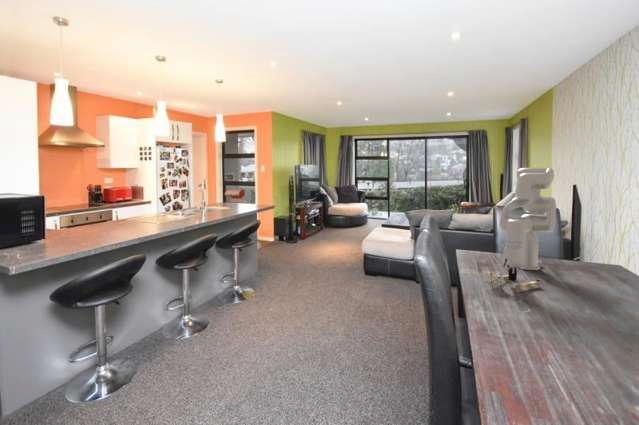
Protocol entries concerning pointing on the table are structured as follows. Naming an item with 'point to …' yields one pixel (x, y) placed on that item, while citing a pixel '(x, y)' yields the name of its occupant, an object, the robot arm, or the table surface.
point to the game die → (496, 282)
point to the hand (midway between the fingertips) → (512, 280)
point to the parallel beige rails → (525, 284)
